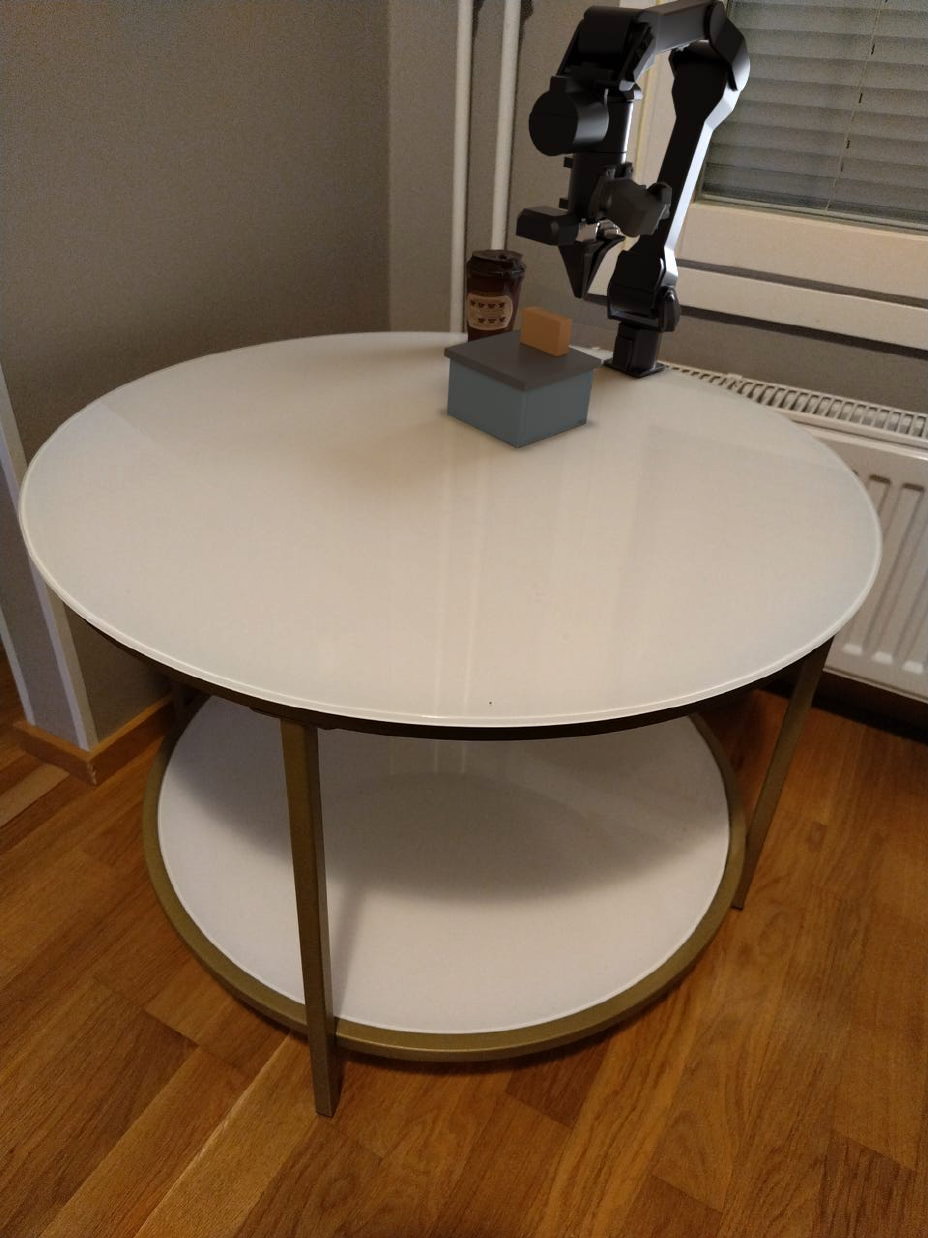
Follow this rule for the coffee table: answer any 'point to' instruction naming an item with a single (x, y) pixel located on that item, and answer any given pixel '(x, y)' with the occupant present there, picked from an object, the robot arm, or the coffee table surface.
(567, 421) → the bin
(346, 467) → the coffee table surface
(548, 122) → the robot arm
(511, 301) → the coffee cup
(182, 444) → the coffee table surface
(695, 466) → the coffee table surface
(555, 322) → the lid
